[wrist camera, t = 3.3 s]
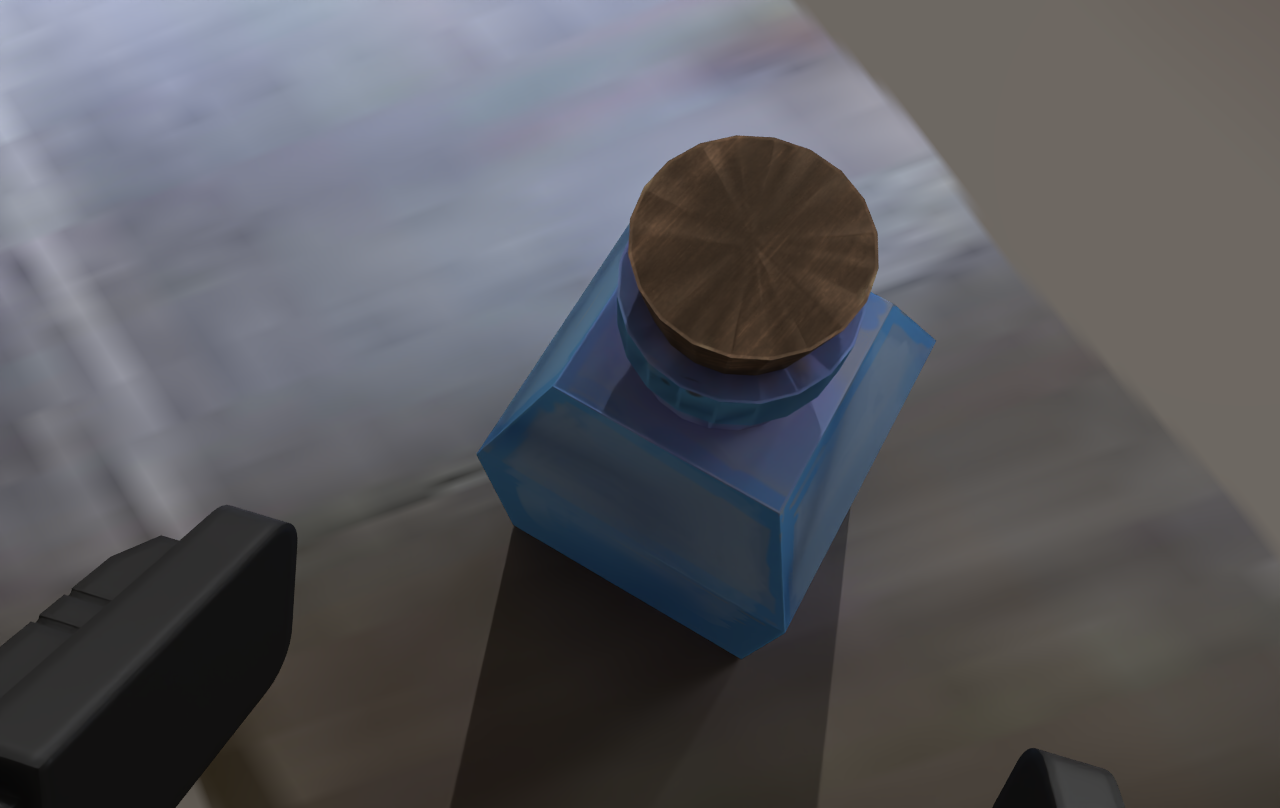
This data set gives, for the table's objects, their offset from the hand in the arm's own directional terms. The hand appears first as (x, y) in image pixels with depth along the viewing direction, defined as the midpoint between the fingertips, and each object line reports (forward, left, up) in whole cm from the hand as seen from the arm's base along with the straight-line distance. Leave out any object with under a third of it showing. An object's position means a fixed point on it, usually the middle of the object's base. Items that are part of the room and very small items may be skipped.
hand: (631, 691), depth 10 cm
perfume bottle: (-1, +5, -12) cm, 13 cm away
